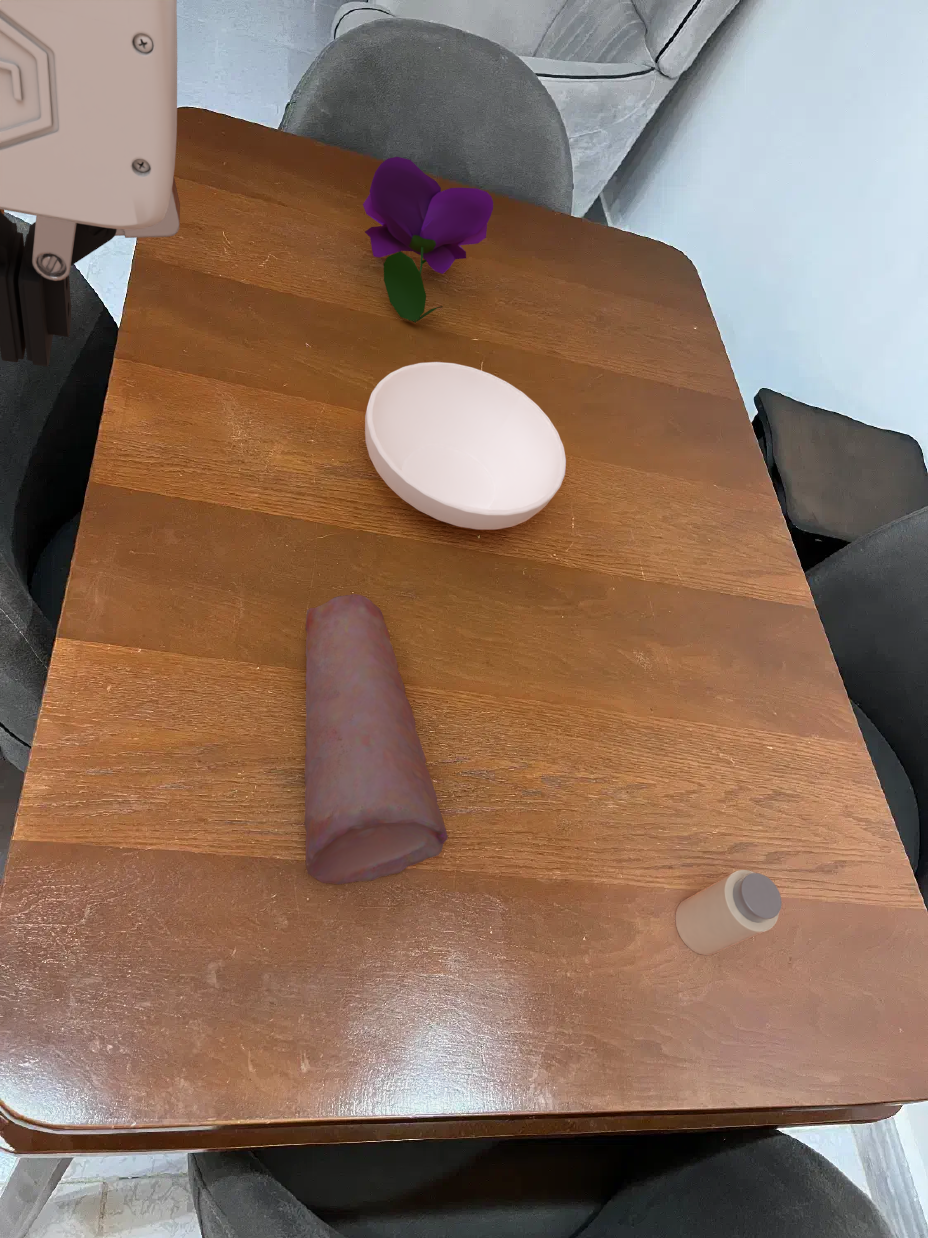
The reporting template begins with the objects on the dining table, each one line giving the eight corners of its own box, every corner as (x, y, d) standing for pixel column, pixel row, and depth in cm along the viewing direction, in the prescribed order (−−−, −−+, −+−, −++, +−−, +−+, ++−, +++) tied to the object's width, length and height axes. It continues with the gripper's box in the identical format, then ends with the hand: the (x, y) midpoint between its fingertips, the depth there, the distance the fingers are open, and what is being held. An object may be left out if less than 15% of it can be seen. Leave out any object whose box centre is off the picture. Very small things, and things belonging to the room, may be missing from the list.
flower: (457, 359, 104) (466, 257, 105) (499, 305, 90) (509, 188, 91) (340, 333, 99) (351, 227, 101) (365, 272, 85) (377, 150, 87)
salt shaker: (684, 958, 64) (746, 930, 57) (668, 899, 66) (726, 866, 59) (732, 952, 65) (798, 924, 59) (714, 895, 67) (776, 862, 61)
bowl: (308, 469, 79) (322, 414, 73) (429, 389, 91) (448, 335, 85) (468, 598, 76) (495, 550, 71) (571, 497, 88) (600, 450, 83)
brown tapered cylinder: (427, 872, 61) (466, 829, 54) (298, 892, 57) (321, 850, 50) (374, 625, 71) (400, 563, 64) (261, 630, 68) (276, 564, 61)
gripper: (-577, -442, 14) (-227, 379, 29) (296, -136, 20) (225, 430, 34) (-408, -501, 18) (-174, 247, 33) (282, -233, 24) (224, 311, 38)
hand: (29, 339), depth 33 cm, fingers closed
